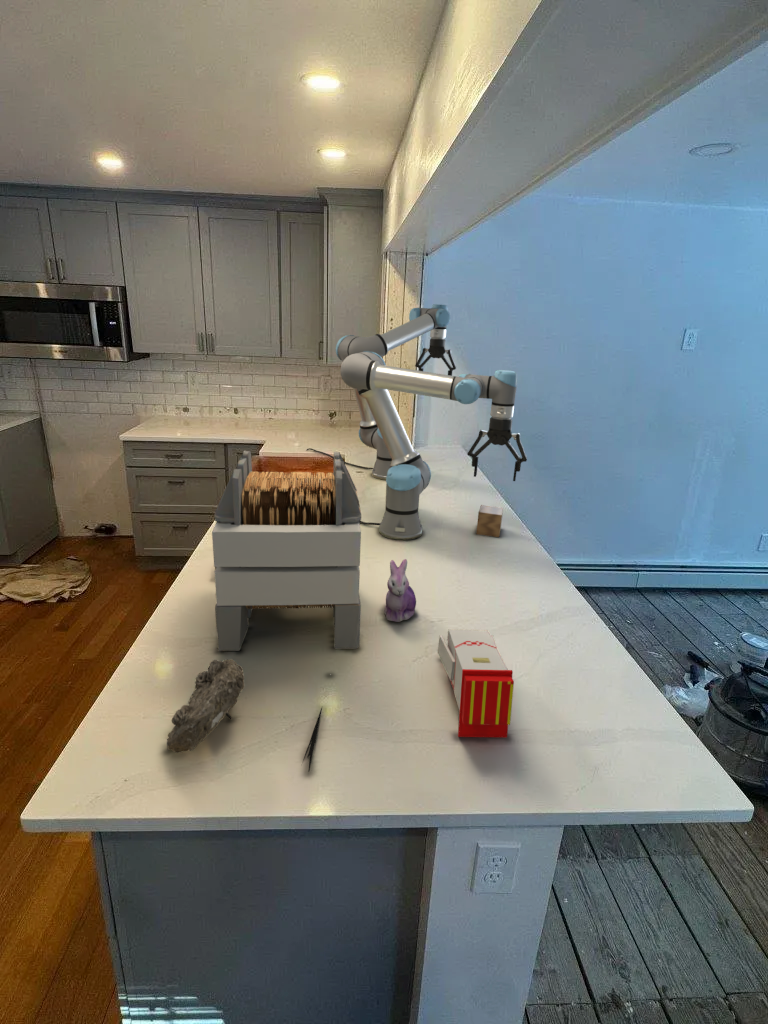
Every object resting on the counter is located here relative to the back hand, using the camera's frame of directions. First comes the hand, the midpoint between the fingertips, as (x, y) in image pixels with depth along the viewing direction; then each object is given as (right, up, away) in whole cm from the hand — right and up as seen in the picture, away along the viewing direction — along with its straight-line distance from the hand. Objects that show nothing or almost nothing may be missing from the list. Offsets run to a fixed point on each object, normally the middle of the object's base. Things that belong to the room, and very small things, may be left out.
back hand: (434, 383), depth 281 cm
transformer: (-49, -90, -136) cm, 171 cm away
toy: (-7, -102, -163) cm, 192 cm away
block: (+13, -71, -76) cm, 105 cm away
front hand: (+14, -52, -83) cm, 99 cm away
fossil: (-58, -103, -173) cm, 210 cm away
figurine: (-21, -91, -134) cm, 163 cm away
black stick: (-38, -104, -173) cm, 205 cm away
